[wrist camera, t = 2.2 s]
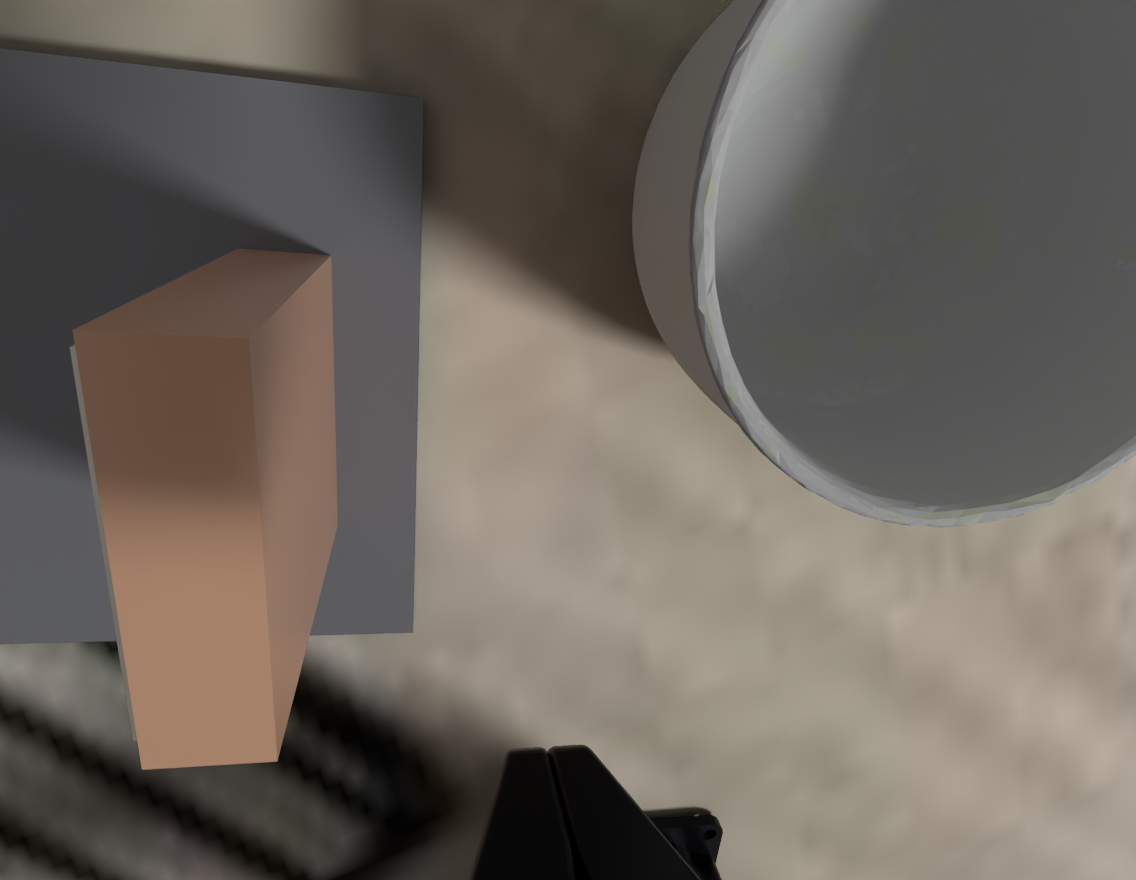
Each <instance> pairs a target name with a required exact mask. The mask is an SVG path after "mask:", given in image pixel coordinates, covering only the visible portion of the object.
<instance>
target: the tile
mask: <svg viewBox="0 0 1136 880" xmlns="http://www.w3.org/2000/svg"><path fill="white" fill-rule="evenodd" d="M73 336H74V342H75V344H74V345H73V346H71V347H70V353H71V359H72V365H73V371H74V378H75V384H76V390H77V396H78V403H79V409H80V415H81V421H82V427H83V434H84V440H85V446H86V452H87V459H88V465H89V471H90V477H91V484H92V490H93V496H94V502H95V508H96V515H97V521H98V527H99V533H100V540H101V546H102V552H103V558H104V564H105V571H106V577H107V583H108V589H109V596H110V602H111V608H112V614H113V621H114V627H115V633H116V639H117V645H118V652H119V658H120V664H121V670H122V677H123V683H124V689H125V695H126V701H127V708H128V714H129V720H130V726H131V733H132V739H133V741H137V742H138V748H139V754H140V761H141V767H142V770H147V769H164V768H180V767H196V766H213V765H229V764H246V763H262V762H277V761H278V757H279V753H280V749H281V745H282V741H283V738H284V734H285V730H286V726H287V722H288V718H289V714H290V710H291V706H292V702H293V698H294V694H295V691H296V687H297V683H298V679H299V675H300V671H301V667H302V663H303V659H304V655H305V651H306V647H307V643H308V640H309V636H310V632H311V628H312V624H313V620H314V616H315V612H316V608H317V604H318V600H319V596H320V593H321V589H322V585H323V581H324V577H325V573H326V569H327V565H328V561H329V557H330V553H331V549H332V546H333V542H334V538H335V534H336V530H337V526H338V515H337V473H336V431H335V389H334V347H333V305H332V263H331V255H321V254H308V253H294V252H280V251H266V250H253V249H239V248H238V249H236V250H234V251H232V252H230V253H228V254H226V255H224V256H222V257H220V258H218V259H216V260H214V261H212V262H210V263H207V264H205V265H203V266H201V267H199V268H197V269H195V270H193V271H191V272H189V273H187V274H185V275H183V276H181V277H179V278H177V279H175V280H173V281H171V282H169V283H167V284H165V285H163V286H161V287H159V288H157V289H155V290H153V291H151V292H149V293H147V294H145V295H143V296H141V297H139V298H137V299H134V300H132V301H130V302H128V303H126V304H124V305H122V306H120V307H118V308H116V309H114V310H112V311H110V312H108V313H106V314H104V315H102V316H100V317H98V318H96V319H94V320H92V321H90V322H88V323H86V324H84V325H82V326H80V327H78V328H76V329H74V330H73Z"/></svg>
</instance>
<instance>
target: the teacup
mask: <svg viewBox="0 0 1136 880" xmlns="http://www.w3.org/2000/svg"><path fill="white" fill-rule="evenodd" d="M632 238H633V246H634V254H635V262H636V268H637V273H638V277H639V281H640V285H641V289H642V292H643V295H644V299H645V302H646V305H647V308H648V310H649V312H650V315H651V317H652V319H653V321H654V324H655V326H656V328H657V330H658V332H659V333H660V335H661V337H662V339H663V341H664V343H665V344H666V346H667V347H668V349H669V351H670V352H671V354H672V355H673V357H674V358H675V359H676V361H677V362H678V364H679V365H680V366H681V367H682V369H683V370H684V371H685V372H686V374H687V375H688V376H689V377H690V378H691V379H692V380H693V382H694V383H695V384H696V385H697V386H698V387H699V388H700V389H701V390H702V391H703V392H704V394H705V395H706V396H707V397H709V398H710V399H711V400H712V401H713V402H714V403H715V404H716V405H717V406H718V407H719V408H720V409H721V410H722V411H723V412H724V413H725V414H726V415H728V416H729V417H730V418H731V419H732V420H733V421H734V422H736V423H737V424H738V425H739V426H740V428H741V429H742V431H743V432H744V433H745V435H746V436H747V437H748V438H749V439H750V440H751V442H752V443H753V444H754V445H755V446H756V447H757V449H758V450H759V451H760V452H761V453H762V454H763V455H765V456H766V457H767V458H768V459H769V460H770V461H771V462H772V463H773V464H774V465H775V466H777V467H778V468H779V469H781V470H782V471H783V472H784V473H786V474H787V475H788V476H790V477H791V478H792V479H794V480H795V481H796V482H797V483H799V484H800V485H802V486H803V487H804V488H806V489H807V490H809V491H812V492H814V493H816V494H818V495H820V496H822V497H823V498H825V499H827V500H829V501H830V502H832V503H833V504H835V505H837V506H840V507H842V508H844V509H846V510H849V511H852V512H855V513H857V514H860V515H863V516H867V517H870V518H874V519H878V520H882V521H886V522H892V523H898V524H903V525H917V526H931V527H952V526H966V525H971V524H975V523H983V522H992V521H997V520H1001V519H1006V518H1010V517H1014V516H1018V515H1022V514H1024V513H1026V512H1027V511H1029V510H1031V509H1034V508H1038V507H1042V506H1046V505H1050V504H1052V503H1054V502H1055V501H1057V500H1058V499H1060V498H1061V497H1063V496H1064V495H1067V494H1069V493H1072V492H1074V491H1076V490H1078V489H1080V488H1082V487H1084V486H1086V485H1089V484H1091V483H1093V482H1095V481H1097V480H1100V479H1101V478H1102V477H1104V476H1105V475H1106V474H1108V473H1109V472H1111V471H1112V470H1114V469H1115V468H1117V467H1118V466H1120V465H1121V464H1123V463H1124V462H1126V461H1127V460H1129V459H1131V458H1132V457H1134V456H1135V455H1136V0H734V1H733V2H732V3H731V4H730V5H729V6H728V7H727V8H726V9H725V10H724V11H723V12H722V13H721V14H720V15H719V16H718V17H717V18H716V19H715V20H714V22H713V23H712V24H711V25H710V26H709V27H708V29H707V30H706V31H705V32H704V33H703V34H702V36H701V37H700V38H699V39H698V40H697V41H696V42H695V44H694V45H693V47H692V48H691V49H690V51H689V52H688V54H687V55H686V57H685V58H684V60H683V61H682V63H681V64H680V65H679V67H678V69H677V70H676V72H675V73H674V75H673V77H672V79H671V81H670V83H669V85H668V87H667V88H666V90H665V92H664V94H663V96H662V98H661V100H660V102H659V104H658V106H657V109H656V111H655V114H654V116H653V119H652V122H651V124H650V127H649V129H648V132H647V135H646V137H645V141H644V144H643V148H642V152H641V156H640V160H639V164H638V168H637V174H636V181H635V187H634V198H633V211H632Z"/></svg>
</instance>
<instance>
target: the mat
mask: <svg viewBox="0 0 1136 880" xmlns="http://www.w3.org/2000/svg"><path fill="white" fill-rule="evenodd" d="M423 116H424V98H421V97H412V96H404V95H395V94H387V93H378V92H370V91H361V90H352V89H344V88H335V87H327V86H318V85H310V84H301V83H293V82H284V81H276V80H267V79H259V78H250V77H242V76H233V75H225V74H216V73H208V72H199V71H191V70H182V69H174V68H165V67H157V66H148V65H139V64H131V63H122V62H114V61H105V60H97V59H88V58H80V57H71V56H63V55H54V54H46V53H37V52H29V51H20V50H12V49H3V48H0V644H24V643H60V642H95V641H117V639H116V633H115V627H114V621H113V614H112V608H111V602H110V596H109V589H108V583H107V577H106V571H105V564H104V558H103V552H102V546H101V540H100V533H99V527H98V521H97V515H96V508H95V502H94V496H93V490H92V484H91V477H90V471H89V465H88V459H87V452H86V446H85V440H84V434H83V427H82V421H81V415H80V409H79V403H78V396H77V390H76V384H75V378H74V371H73V365H72V359H71V353H70V347H71V346H73V345H74V344H75V342H74V336H73V330H74V329H76V328H78V327H80V326H82V325H84V324H86V323H88V322H90V321H92V320H94V319H96V318H98V317H100V316H102V315H104V314H106V313H108V312H110V311H112V310H114V309H116V308H118V307H120V306H122V305H124V304H126V303H128V302H130V301H132V300H134V299H137V298H139V297H141V296H143V295H145V294H147V293H149V292H151V291H153V290H155V289H157V288H159V287H161V286H163V285H165V284H167V283H169V282H171V281H173V280H175V279H177V278H179V277H181V276H183V275H185V274H187V273H189V272H191V271H193V270H195V269H197V268H199V267H201V266H203V265H205V264H207V263H210V262H212V261H214V260H216V259H218V258H220V257H222V256H224V255H226V254H228V253H230V252H232V251H234V250H236V249H238V248H239V249H253V250H266V251H280V252H294V253H308V254H321V255H331V263H332V305H333V347H334V389H335V431H336V473H337V515H338V526H337V530H336V534H335V538H334V542H333V546H332V549H331V553H330V557H329V561H328V565H327V569H326V573H325V577H324V581H323V585H322V589H321V593H320V596H319V600H318V604H317V608H316V612H315V616H314V620H313V624H312V628H311V632H310V635H343V634H379V633H413V605H414V557H415V508H416V459H417V410H418V361H419V312H420V263H421V214H422V165H423Z"/></svg>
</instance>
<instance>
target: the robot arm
mask: <svg viewBox="0 0 1136 880" xmlns="http://www.w3.org/2000/svg"><path fill="white" fill-rule="evenodd" d="M722 834H723V832H722V828H721V825H720V823H719V821H718V819H717V817H715V816H712V815H704V816H693V817H681V818H669V819H657V820H650V819H649V818H648V816H647V815H646V814H645V813H644V812H643V811H642V809H641V808H640V807H639V806H638V805H637V803H636V802H635V801H634V800H633V799H632V797H631V796H630V795H629V794H628V793H627V792H626V790H625V789H624V788H623V787H622V786H621V784H620V783H619V782H618V781H617V780H616V779H615V777H614V776H613V775H612V774H611V773H610V771H609V770H608V769H607V768H606V767H605V765H604V764H603V763H602V762H601V761H600V760H599V758H598V757H597V756H596V755H595V754H594V752H593V751H592V750H591V749H590V748H589V747H587V746H585V745H568V746H554V747H552V748H550V749H549V750H548V752H547V751H546V750H545V749H544V748H542V747H535V748H519V749H511V750H509V751H508V752H507V754H506V756H505V759H504V762H503V766H502V769H501V772H500V776H499V779H498V783H497V786H496V790H495V793H494V796H493V800H492V803H491V807H490V810H489V814H488V817H487V820H486V824H485V827H484V831H483V834H482V838H481V841H480V844H479V848H478V851H477V855H476V858H475V862H474V865H473V868H472V872H471V875H470V879H469V880H721V877H720V875H719V872H718V870H717V867H716V865H715V863H716V859H717V855H718V850H719V846H720V842H721V838H722Z"/></svg>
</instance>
